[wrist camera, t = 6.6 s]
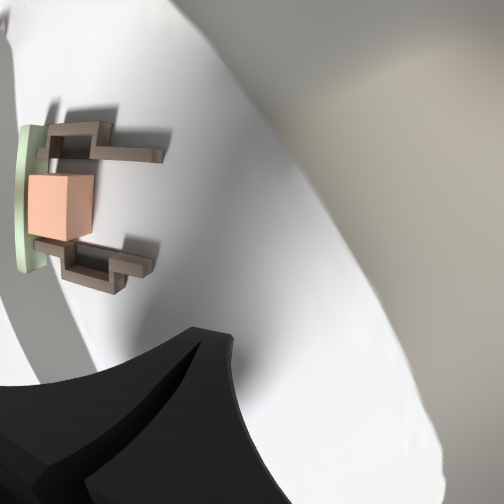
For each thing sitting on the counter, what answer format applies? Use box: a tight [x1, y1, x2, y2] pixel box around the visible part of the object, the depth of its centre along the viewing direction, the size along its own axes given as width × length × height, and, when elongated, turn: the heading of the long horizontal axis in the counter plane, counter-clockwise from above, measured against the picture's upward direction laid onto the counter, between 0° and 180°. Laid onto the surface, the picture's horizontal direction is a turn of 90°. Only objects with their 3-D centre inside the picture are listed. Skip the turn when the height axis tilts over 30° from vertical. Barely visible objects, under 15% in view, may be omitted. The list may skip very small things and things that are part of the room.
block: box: [28, 173, 94, 241], centre depth 17 cm, size 4×4×3 cm
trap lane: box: [15, 121, 164, 295], centre depth 17 cm, size 11×11×2 cm
